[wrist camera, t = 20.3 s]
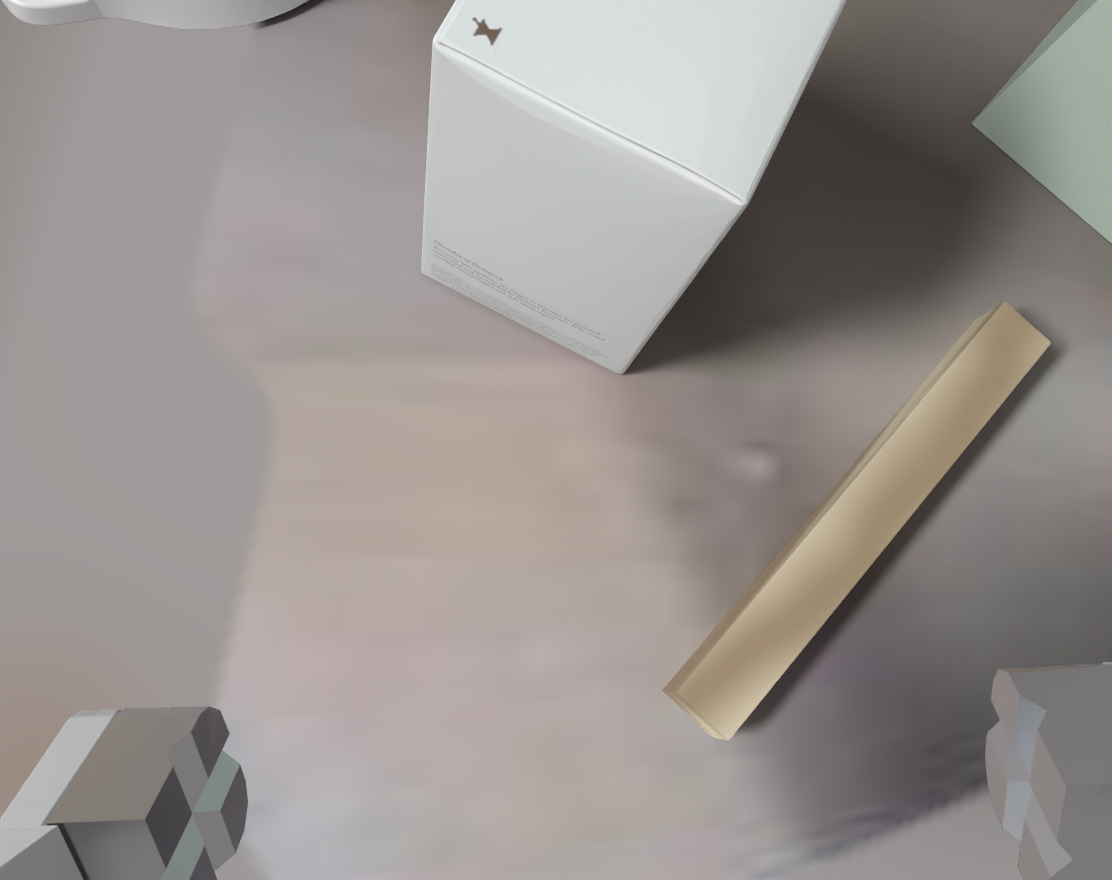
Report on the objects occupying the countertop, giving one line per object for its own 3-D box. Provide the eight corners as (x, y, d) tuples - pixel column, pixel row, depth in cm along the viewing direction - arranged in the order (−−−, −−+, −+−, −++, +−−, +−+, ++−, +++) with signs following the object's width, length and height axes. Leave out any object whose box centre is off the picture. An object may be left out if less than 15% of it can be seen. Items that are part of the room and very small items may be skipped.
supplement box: (624, 384, 39) (750, 216, 24) (415, 275, 39) (418, 40, 24) (719, 194, 41) (886, -62, 27) (522, 90, 41) (583, -224, 26)
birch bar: (659, 690, 37) (676, 691, 35) (972, 321, 42) (1004, 300, 40) (708, 736, 37) (728, 740, 34) (1016, 360, 42) (1051, 342, 39)
